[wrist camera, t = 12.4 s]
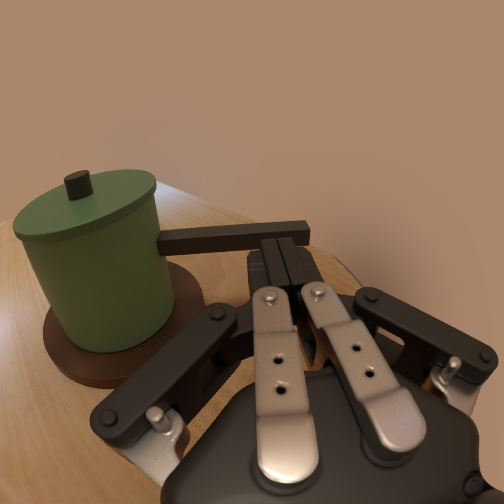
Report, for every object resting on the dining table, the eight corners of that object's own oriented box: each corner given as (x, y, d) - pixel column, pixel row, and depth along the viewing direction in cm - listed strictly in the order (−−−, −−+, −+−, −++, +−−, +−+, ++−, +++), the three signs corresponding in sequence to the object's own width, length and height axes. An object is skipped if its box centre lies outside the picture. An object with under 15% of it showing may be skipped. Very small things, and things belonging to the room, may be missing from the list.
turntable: (237, 292, 28) (236, 281, 27) (125, 425, 16) (118, 418, 15) (124, 254, 34) (122, 245, 33) (25, 332, 22) (19, 324, 21)
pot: (44, 351, 19) (-23, 221, 12) (84, 271, 29) (53, 165, 22) (319, 344, 20) (344, 178, 14) (289, 257, 30) (292, 136, 23)
